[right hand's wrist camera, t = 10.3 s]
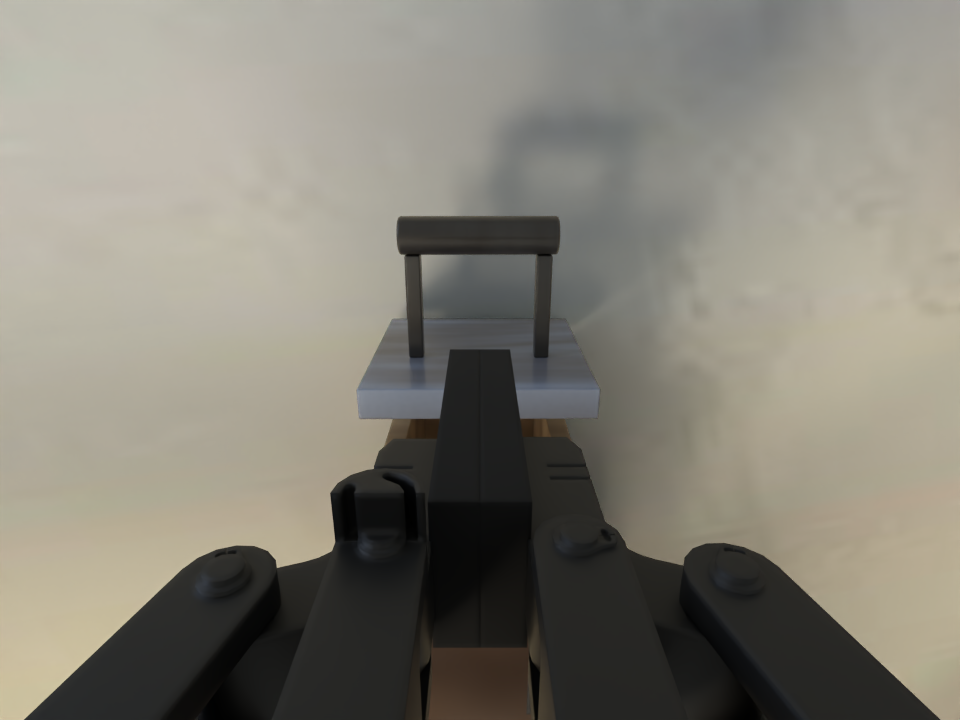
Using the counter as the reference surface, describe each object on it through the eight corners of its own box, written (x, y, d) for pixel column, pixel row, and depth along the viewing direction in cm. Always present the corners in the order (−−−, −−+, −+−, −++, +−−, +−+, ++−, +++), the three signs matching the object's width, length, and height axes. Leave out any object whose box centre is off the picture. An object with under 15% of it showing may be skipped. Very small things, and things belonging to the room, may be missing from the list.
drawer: (385, 202, 27) (343, 229, 19) (571, 202, 27) (613, 228, 19) (408, 610, 36) (386, 754, 27) (550, 610, 36) (572, 754, 27)
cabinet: (392, 461, 33) (353, 602, 23) (566, 461, 33) (604, 602, 23) (407, 713, 40) (383, 907, 30) (551, 713, 40) (576, 907, 30)
